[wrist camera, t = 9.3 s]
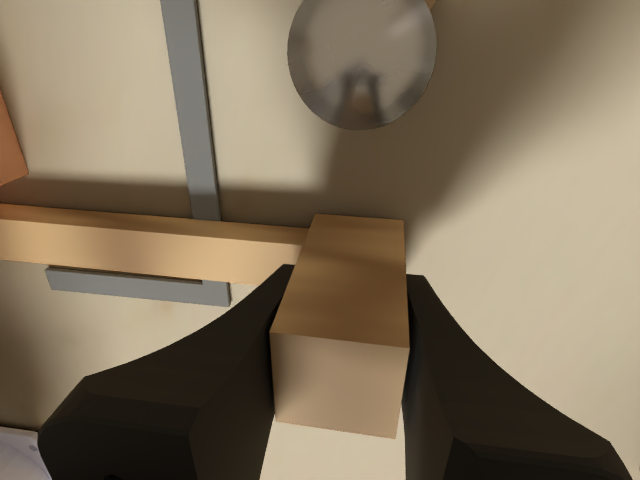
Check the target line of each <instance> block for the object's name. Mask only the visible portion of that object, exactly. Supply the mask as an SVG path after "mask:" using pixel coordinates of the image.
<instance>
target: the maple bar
mask: <svg viewBox="0 0 640 480" xmlns="http://www.w3.org/2000/svg"><path fill="white" fill-rule="evenodd" d="M424 1H425V2H426V4H427V6H428V8H429V10H431V8H432V7H433V5H434V4H435V3H436V1H437V0H424Z"/></svg>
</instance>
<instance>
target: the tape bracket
mask: <svg viewBox="0 0 640 480" xmlns="http://www.w3.org/2000/svg"><path fill="white" fill-rule="evenodd" d="M160 2H161V8H162V15H163V22H164V28H165V35H166V42H167V49H168V55H169V62H170V69H171V75H172V82H173V89H174V95H175V102H176V109H177V115H178V122H179V129H180V136H181V142H182V149H183V156H184V162H185V169H186V176H187V182H188V189H189V196H190V203H191V209H192V216H193V219H198V220H210V221H221V215H220V206H219V197H218V188H217V179H216V171H215V162H214V153H213V144H212V135H211V126H210V118H209V109H208V100H207V91H206V82H205V73H204V65H203V56H202V47H201V38H200V29H199V20H198V12H197V3H196V0H160ZM45 273H46V276H47V278H48V281H49V284H50V287H51V289H52V290H61V291H71V292H81V293H91V294H101V295H111V296H122V297H132V298H142V299H152V300H162V301H172V302H182V303H192V304H202V305H212V306H223V307H229V306H230V304H231V303H230V294H229V285H228V282H221V281H211V280H202V282H198V281H188V280H177V279H166V278H155V277H144V276H133V275H123V274H112V273H101V272H90V271H79V270H68V269H58V268H47V269H45Z"/></svg>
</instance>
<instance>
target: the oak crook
mask: <svg viewBox="0 0 640 480" xmlns="http://www.w3.org/2000/svg"><path fill="white" fill-rule="evenodd" d="M0 259H3V260H13V261H23V262H33V263H42V264H52V265H62V266H72V267H82V268H92V269H102V270H112V271H122V272H131V273H141V274H151V275H161V276H171V277H181V278H191V279H201V280H211V281H221V282H230V283H240V284H250V285H260V284H262V283H263V282H264V281H265V280H266V279H267V278H268V277H269V276H270V275H271V274H272V273H274V272H275V271H276V270H277V269H278V268H279V267H280V266H281V265H283V264H292V265H295V267H294V270H293V272H292V275H291V277H290V280H289V283H288V285H287V288H286V290H285V293H284V296H283V298H282V301H281V303H280V306H279V309H278V311H277V314H276V316H275V319H274V321H273V324H272V327H271V329H270V332H269V333H270V347H271V361H272V375H273V389H274V403H275V417H276V422H282V423H289V424H296V425H302V426H309V427H316V428H323V429H330V430H337V431H343V432H350V433H357V434H364V435H371V436H378V437H385V438H391V439H395V438H396V432H397V426H398V419H399V413H400V407H401V400H402V394H403V388H404V381H405V375H406V369H407V362H408V356H409V350H410V345H409V324H408V303H407V283H406V262H405V242H404V221H403V220H394V219H380V218H367V217H354V216H340V215H327V214H315V215H314V218H313V221H312V223H311V226H310V228H297V227H285V226H272V225H260V224H247V223H235V222H222V221H210V220H198V219H185V218H173V217H160V216H148V215H135V214H123V213H111V212H98V211H86V210H73V209H61V208H48V207H36V206H24V205H11V204H0Z"/></svg>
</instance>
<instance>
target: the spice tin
mask: <svg viewBox="0 0 640 480" xmlns="http://www.w3.org/2000/svg"><path fill="white" fill-rule="evenodd" d="M436 51H437V39H436V30H435V25H434V21H433V18H432V15H431V12H430V10H429V8H428V6H427V4H426V2H425V1H424V0H303V2H302V3H301V5H300V7H299V8H298V10H297V12H296V14H295V17H294V19H293V22H292V25H291V29H290V32H289V38H288V51H287V55H288V65H289V70H290V75H291V78H292V81H293V84H294V86H295V88H296V90H297V92H298V94H299V95H300V97H301V99H302V100H303V102H304V103H305V104H306V105H307V106H308V108H309V109H310V110H311V111H312V112H314V113H315V114H316V115H317V116H318V117H320V118H321V119H323V120H324V121H326V122H328V123H330V124H332V125H335V126H337V127H340V128H344V129H350V130H368V129H374V128H378V127H381V126H384V125H386V124H389V123H391V122H393V121H395V120H396V119H398V118H400V117H401V116H402V115H403V114H405V113H406V112H407V111H408V110H409V109H410V108H411V107H412V106H413V105H414V104H415V103H416V102H417V101H418V99H419V98H420V97H421V95H422V94H423V92H424V90H425V89H426V87H427V85H428V83H429V80H430V78H431V75H432V72H433V69H434V65H435V60H436Z"/></svg>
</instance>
